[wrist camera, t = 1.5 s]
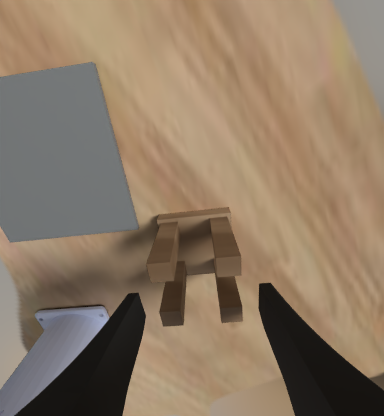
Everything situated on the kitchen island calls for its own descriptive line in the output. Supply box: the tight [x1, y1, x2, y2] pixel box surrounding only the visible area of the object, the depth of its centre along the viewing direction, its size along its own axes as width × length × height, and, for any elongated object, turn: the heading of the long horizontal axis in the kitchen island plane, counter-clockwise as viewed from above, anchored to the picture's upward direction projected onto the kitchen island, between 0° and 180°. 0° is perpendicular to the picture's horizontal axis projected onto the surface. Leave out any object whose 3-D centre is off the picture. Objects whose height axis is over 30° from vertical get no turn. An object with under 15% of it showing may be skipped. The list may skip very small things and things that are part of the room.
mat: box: [0, 62, 139, 242], centre depth 15 cm, size 12×12×1 cm
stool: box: [146, 207, 243, 326], centre depth 14 cm, size 6×6×6 cm
